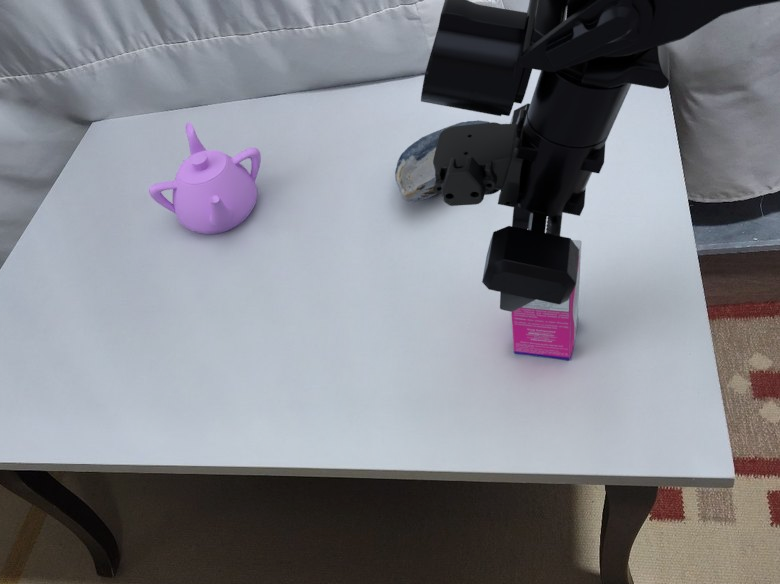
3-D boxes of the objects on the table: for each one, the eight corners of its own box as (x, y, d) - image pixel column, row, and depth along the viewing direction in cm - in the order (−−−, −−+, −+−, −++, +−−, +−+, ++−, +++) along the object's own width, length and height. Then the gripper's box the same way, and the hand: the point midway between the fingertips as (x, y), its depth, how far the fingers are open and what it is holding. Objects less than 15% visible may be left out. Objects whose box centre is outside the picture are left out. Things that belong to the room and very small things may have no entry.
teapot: (208, 172, 108) (186, 120, 101) (286, 192, 102) (269, 138, 95) (157, 228, 103) (131, 177, 96) (236, 252, 97) (214, 200, 90)
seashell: (500, 217, 90) (499, 185, 86) (395, 224, 93) (389, 193, 89) (500, 135, 98) (499, 103, 94) (404, 144, 102) (400, 113, 98)
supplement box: (520, 311, 81) (520, 234, 72) (579, 318, 78) (586, 238, 69) (510, 354, 78) (508, 279, 69) (571, 362, 75) (577, 285, 66)
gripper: (471, 25, 58) (437, 177, 71) (431, 189, 48) (400, 332, 61) (618, 50, 57) (556, 201, 70) (609, 224, 47) (538, 363, 60)
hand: (512, 268), depth 65 cm, fingers open, 9 cm apart
